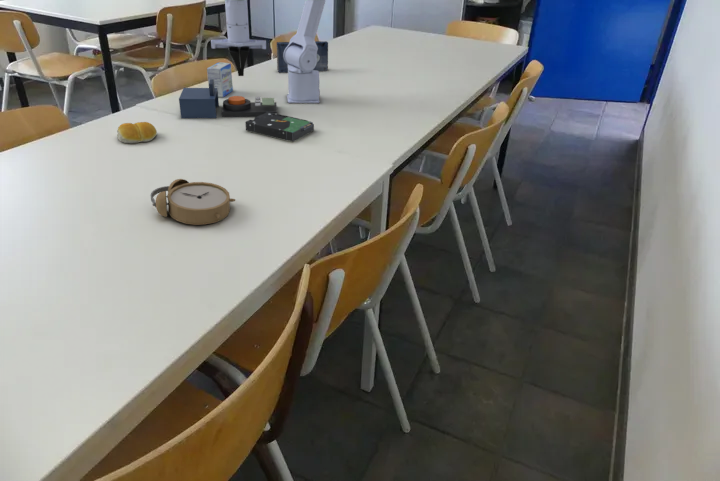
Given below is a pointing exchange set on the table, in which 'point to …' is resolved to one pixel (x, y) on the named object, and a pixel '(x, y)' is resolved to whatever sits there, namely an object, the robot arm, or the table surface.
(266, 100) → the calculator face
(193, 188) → the alarm clock
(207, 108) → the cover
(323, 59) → the vhs cassette tape
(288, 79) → the robot arm
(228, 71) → the medicine box
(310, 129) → the disk drive
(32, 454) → the table surface
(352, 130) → the table surface
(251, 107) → the control panel
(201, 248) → the table surface
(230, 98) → the equals key
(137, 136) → the bread roll
